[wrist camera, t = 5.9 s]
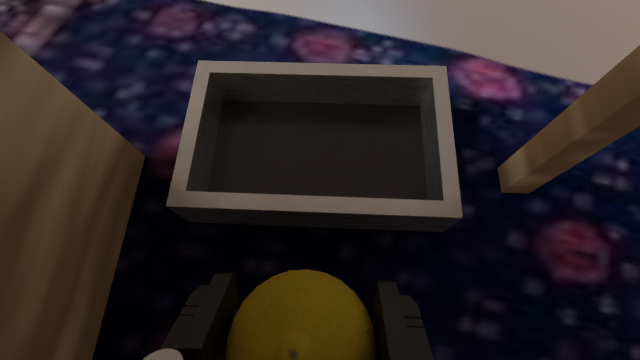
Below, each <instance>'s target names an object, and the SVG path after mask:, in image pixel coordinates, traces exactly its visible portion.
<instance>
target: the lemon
mask: <svg viewBox="0 0 640 360" xmlns="http://www.w3.org/2000/svg"><path fill="white" fill-rule="evenodd" d="M226 360H376V340H375V334H374V328H373V324H372V321H371V319H370V317H369V314H368V312H367V310H366V307H365V306H364V304H363V303H362V302H361V300H360V299H359V298H358V296H357V295H356V293H355V292H354V291H353V290H352V289H350V288H349V287H348V286H347V285H346V284H344V283H343V282H342V281H341V280H339V279H337V278H335V277H333V276H331V275H329V274H327V273H324V272H319V271H314V270H309V269H304V270H290V271H287V272H284V273H281V274H278V275H275V276H273V277H271V278H269V279H268V280H266V281H265V282H263V283H262V284H260V285H259V286H257V287H256V288H255V289H254V290H253V291H252V292H251V293H250V294H249V296H248V297H247V298H246V299H245V300H244V301H243V303H242V304H241V306H240V308H239V310H238V311H237V313H236V315H235V316H234V318H233V322H232V325H231V328H230V331H229V334H228V337H227V348H226Z"/></svg>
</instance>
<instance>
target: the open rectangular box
mask: <svg viewBox="0 0 640 360" xmlns="http://www.w3.org/2000/svg"><path fill="white" fill-rule="evenodd" d="M166 207H168V208H169V209H171V210H172V211H174V212H175V213H177V214H178V215H180V216H181V217H183V218H184V219H186V220H187V221H189V222H201V223H225V224H249V225H274V226H298V227H322V228H347V229H371V230H396V231H420V232H444V231H445V230H447V229H448V228H449V227H451V226H452V225H454V224H455V223H456V222H458V221H459V220H461V219H462V218H463V215H462V206H461V197H460V188H459V178H458V169H457V160H456V151H455V142H454V133H453V124H452V115H451V106H450V97H449V88H448V79H447V70H446V66H415V65H370V64H325V63H281V62H236V61H198V64H197V69H196V73H195V78H194V82H193V87H192V91H191V96H190V100H189V105H188V109H187V114H186V118H185V123H184V127H183V132H182V136H181V141H180V145H179V150H178V154H177V159H176V163H175V168H174V172H173V177H172V181H171V186H170V190H169V194H168V199H167V203H166Z"/></svg>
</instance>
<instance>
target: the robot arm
mask: <svg viewBox="0 0 640 360" xmlns="http://www.w3.org/2000/svg"><path fill="white" fill-rule="evenodd" d="M238 310H239V296H238V286H237V276H236V274H235V273H219V272H217V273H215V275H214V277H213V279H212V281H211V283H210V285H201V286H200V287H199V288H197V289H196V290H195V291H194V292H193V293H192V294H191V295H190V297H189V298H188V300H187V302H186V304H185V307H183V309H182V311H181V313H180V316H178V318H177V320H176V321H175V323H174V325H173V327H172V329H171V330H170V332H169V334H168V336H167V337H166V339H165V341H164V343H163V345H162V346H161V348H160V350H158V351H155V352H153V353H151V354H150V355H148V356H147V357H145V358H144V359H143V360H223V358H224V355H225V352H226V348H227V337H228V334H229V331H230V328H231V325H232V322H233V318H234V316H235V315H236V313H237V311H238ZM373 328H374V334H375V340H376V354H377V360H434V359H433V355H432V352H431V348H430V345H429V342H428V338H427V335H426V331H425V329H424V324H423V321H422V319H421V314H420V311H419V307H418V305H417V304H416V303H415V301H414V300H413V299H412V298H411V296H410V295H399V292H398V288H397V283H396V281H383V280H377V281H376V287H375V296H374V306H373Z"/></svg>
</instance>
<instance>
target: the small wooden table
mask: <svg viewBox="0 0 640 360" xmlns="http://www.w3.org/2000/svg"><path fill="white" fill-rule="evenodd" d="M639 126H640V46H638V47H637V48H636V49H635V50H634V51H632V52H631V53H630V54H629V55H628V56H627V57H625V58H624V59H623V60H622V61H621V62H620V63H619V64H617V65H616V66H615V67H614V68H613V69H612V70H610V71H609V72H608V73H607V74H606V75H605V76H603V77H602V78H601V79H600V80H599V81H598V82H597V83H595V84H594V85H593V86H592V87H591V88H590V89H588V90H587V91H586V92H585V93H584V94H583V95H582V96H580V97H579V98H578V99H577V100H576V101H575V102H573V103H572V104H571V105H570V106H569V107H568V108H567V109H565V110H564V111H563V112H562V113H561V114H560V115H558V116H557V117H556V118H555V119H554V120H553V121H551V122H550V123H549V124H548V125H547V126H546V127H545V128H543V129H542V130H541V131H540V132H539V133H538V134H536V135H535V136H534V137H533V138H532V139H531V140H530V141H528V142H527V143H526V144H525V145H524V146H523V147H521V148H520V149H519V150H518V151H517V152H516V153H515V154H513V155H512V156H511V157H510V158H509V159H508V160H506V161H505V162H504V163H503V164H502V165H501V166H500V167H498V174H499V180H500V187H501V192H504V193H530V192H532V191H533V190H535V189H536V188H538V187H540V186H541V185H543V184H545V183H546V182H548V181H550V180H551V179H553V178H555V177H556V176H558V175H560V174H561V173H563V172H565V171H566V170H568V169H570V168H571V167H573V166H574V165H576V164H578V163H579V162H581V161H583V160H584V159H586V158H588V157H589V156H591V155H593V154H594V153H596V152H598V151H599V150H601V149H603V148H604V147H606V146H607V145H609V144H611V143H612V142H614V141H616V140H617V139H619V138H621V137H622V136H624V135H626V134H627V133H629V132H631V131H632V130H634V129H636V128H637V127H639ZM144 159H145V156H144V155H143V154H142V153H141V152H140V151H138V150H137V149H136V148H135V147H134V146H133V145H131V144H130V143H129V142H128V141H127V140H126V139H125V138H123V137H122V136H121V135H120V134H119V133H118V132H116V131H115V130H114V129H113V128H112V127H111V126H110V125H108V124H107V123H106V122H105V121H104V120H103V119H101V118H100V117H99V116H98V115H97V114H96V113H94V112H93V111H92V110H91V109H90V108H89V107H88V106H86V105H85V104H84V103H83V102H82V101H81V100H79V99H78V98H77V97H76V96H75V95H74V94H72V93H71V92H70V91H69V90H68V89H67V88H66V87H64V86H63V85H62V84H61V83H60V82H59V81H57V80H56V79H55V78H54V77H53V76H52V75H51V74H49V73H48V72H47V71H46V70H45V69H44V68H42V67H41V66H40V65H39V64H38V63H37V62H35V61H34V60H33V59H32V58H31V57H30V56H29V55H27V54H26V53H25V52H24V51H23V50H22V49H20V48H19V47H18V46H17V45H16V44H15V43H14V42H12V41H11V40H10V39H9V38H8V37H7V36H5V35H4V34H3V33H2V32H1V31H0V360H92V358H93V354H94V350H95V347H96V343H97V339H98V335H99V331H100V327H101V324H102V320H103V316H104V312H105V308H106V304H107V301H108V297H109V293H110V289H111V285H112V281H113V278H114V274H115V270H116V266H117V262H118V258H119V255H120V251H121V247H122V243H123V239H124V235H125V232H126V228H127V224H128V220H129V216H130V212H131V209H132V205H133V201H134V197H135V193H136V190H137V186H138V182H139V178H140V174H141V170H142V167H143V163H144Z"/></svg>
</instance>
